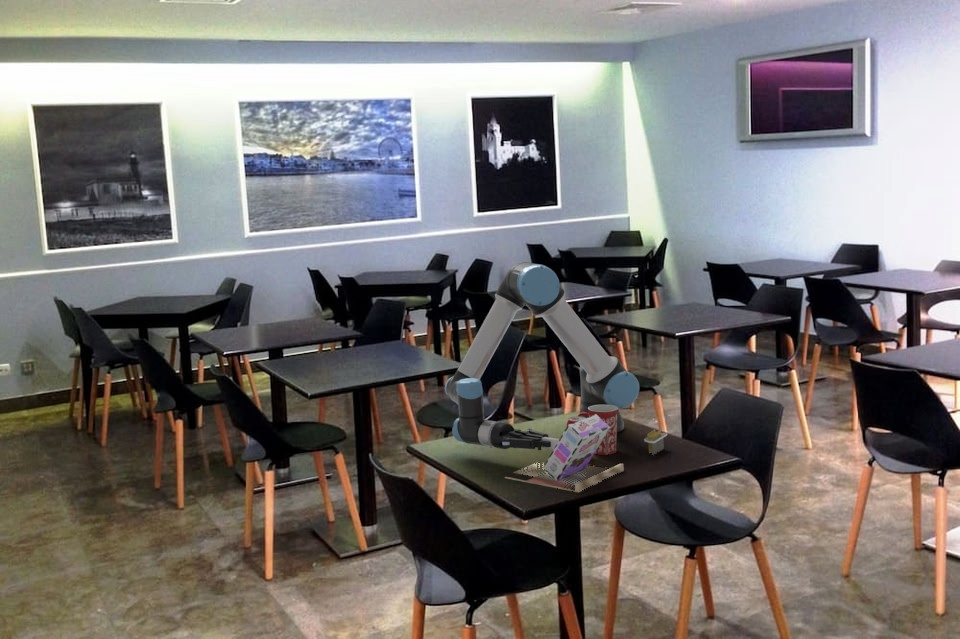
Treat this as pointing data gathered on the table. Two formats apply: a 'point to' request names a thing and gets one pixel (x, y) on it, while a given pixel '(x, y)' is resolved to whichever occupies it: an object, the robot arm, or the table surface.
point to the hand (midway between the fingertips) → (561, 445)
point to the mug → (609, 417)
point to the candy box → (576, 447)
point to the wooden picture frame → (561, 484)
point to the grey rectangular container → (655, 441)
